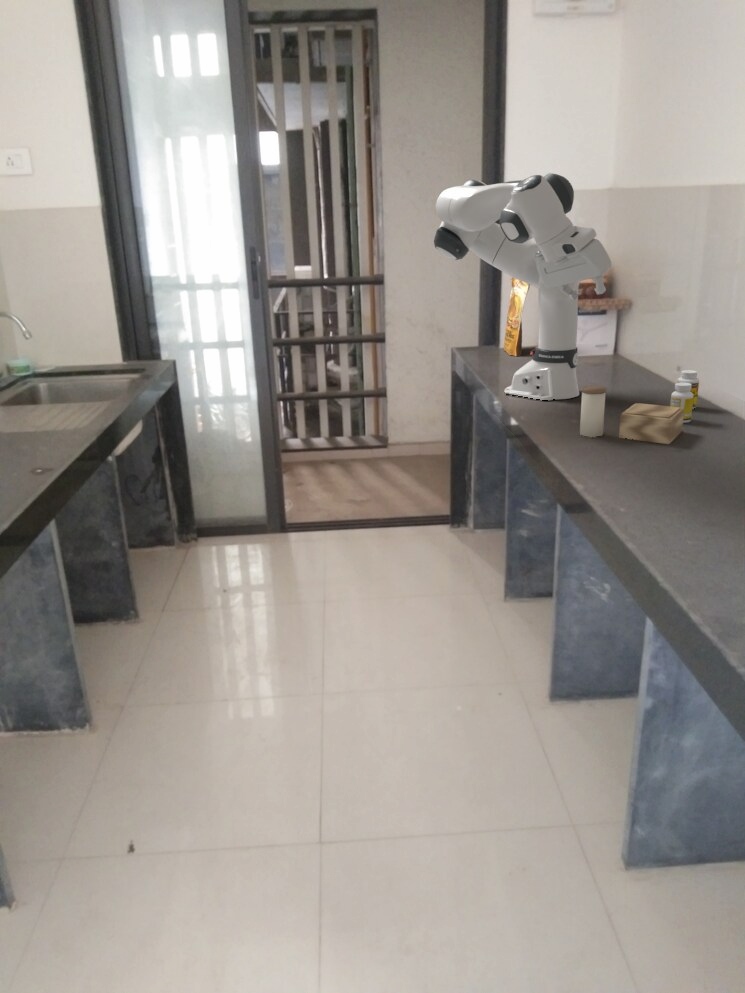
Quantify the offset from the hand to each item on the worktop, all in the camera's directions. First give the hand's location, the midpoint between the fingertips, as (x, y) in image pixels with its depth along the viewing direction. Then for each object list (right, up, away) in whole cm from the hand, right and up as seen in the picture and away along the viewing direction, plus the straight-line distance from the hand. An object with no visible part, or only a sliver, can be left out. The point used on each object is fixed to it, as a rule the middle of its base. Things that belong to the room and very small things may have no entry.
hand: (588, 295), depth 181 cm
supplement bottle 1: (+36, -23, +34) cm, 55 cm away
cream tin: (+5, -31, +14) cm, 35 cm away
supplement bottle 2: (+30, -27, +22) cm, 46 cm away
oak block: (+19, -32, +11) cm, 38 cm away
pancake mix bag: (+5, +9, +120) cm, 121 cm away
